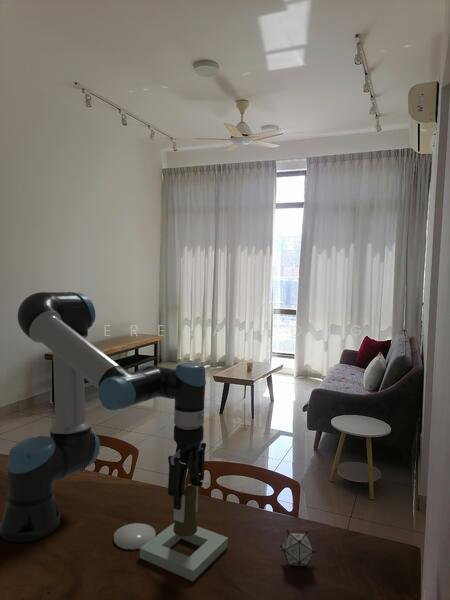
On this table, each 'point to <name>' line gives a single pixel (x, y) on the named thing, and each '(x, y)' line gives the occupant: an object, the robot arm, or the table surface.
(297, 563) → the game die
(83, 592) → the table surface
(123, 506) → the table surface
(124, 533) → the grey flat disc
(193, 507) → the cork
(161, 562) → the frame
